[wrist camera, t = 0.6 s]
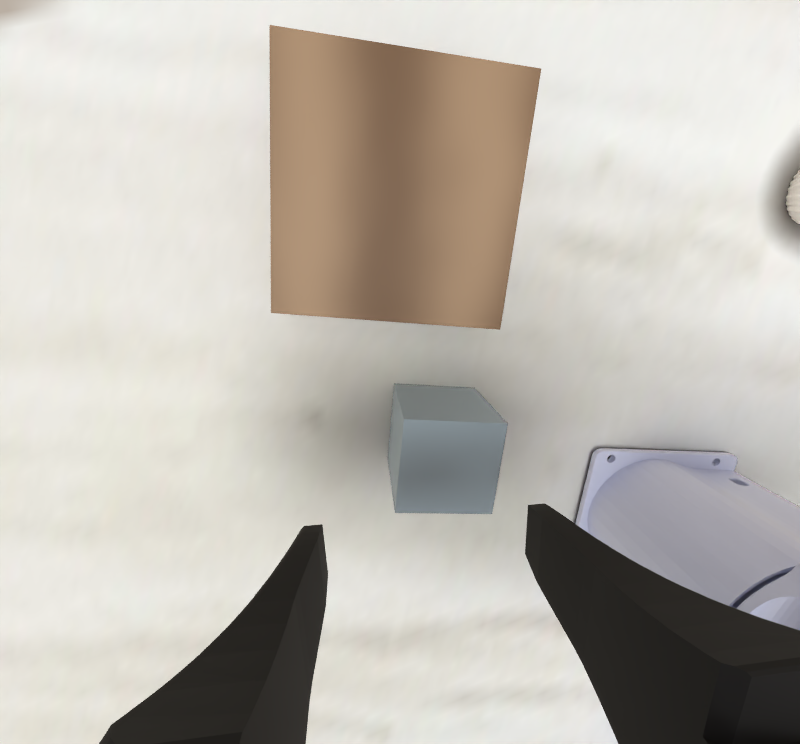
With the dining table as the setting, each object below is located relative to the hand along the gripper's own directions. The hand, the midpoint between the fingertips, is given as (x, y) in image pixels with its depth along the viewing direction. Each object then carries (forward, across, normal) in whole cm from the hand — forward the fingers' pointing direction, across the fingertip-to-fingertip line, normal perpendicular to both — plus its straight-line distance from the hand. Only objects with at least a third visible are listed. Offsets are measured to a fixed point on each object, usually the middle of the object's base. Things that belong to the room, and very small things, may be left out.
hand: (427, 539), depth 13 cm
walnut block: (+8, 0, -12) cm, 14 cm away
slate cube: (+9, -2, 0) cm, 9 cm away
